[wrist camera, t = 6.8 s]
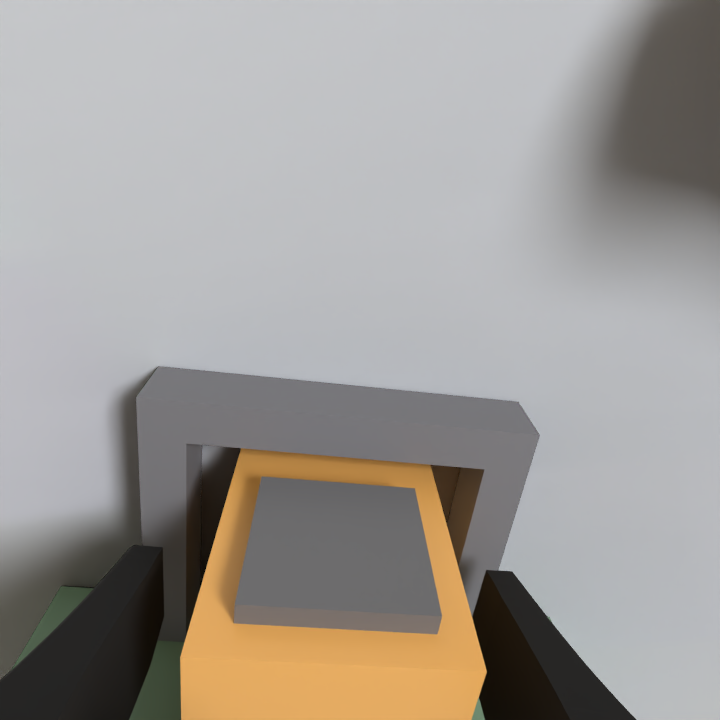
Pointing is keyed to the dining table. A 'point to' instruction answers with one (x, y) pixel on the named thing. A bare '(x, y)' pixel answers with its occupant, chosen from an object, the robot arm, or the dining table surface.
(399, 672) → the chute block
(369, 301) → the dining table surface
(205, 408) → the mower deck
